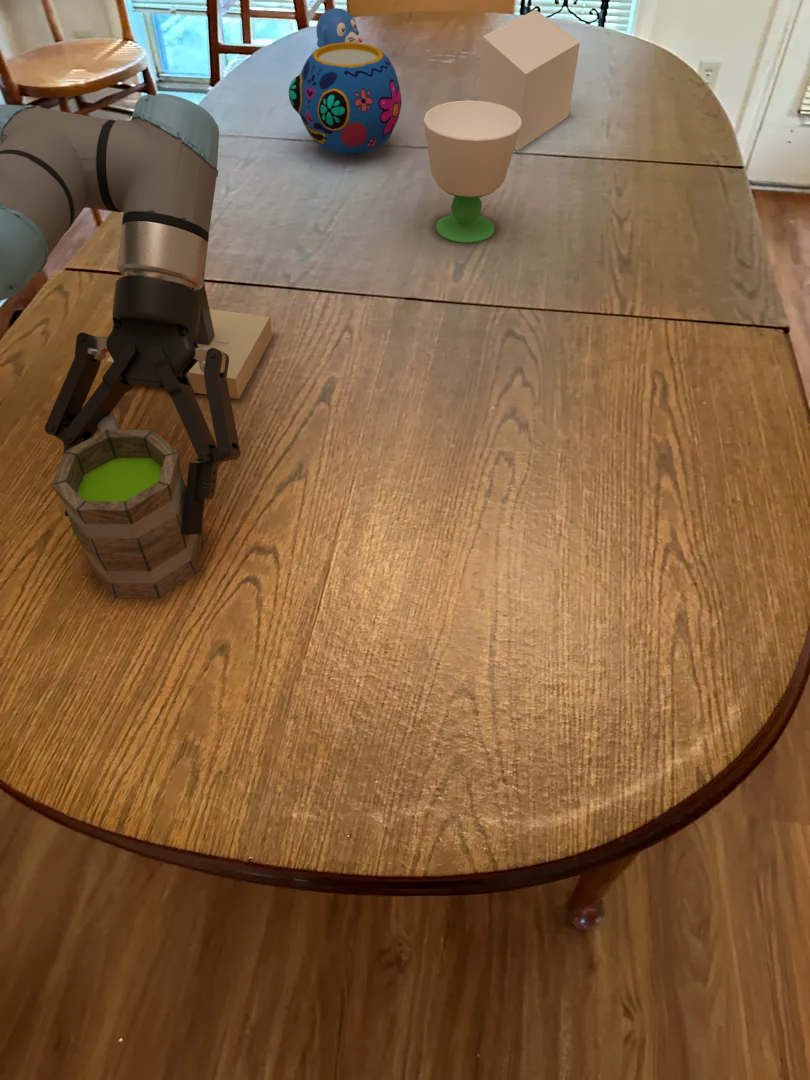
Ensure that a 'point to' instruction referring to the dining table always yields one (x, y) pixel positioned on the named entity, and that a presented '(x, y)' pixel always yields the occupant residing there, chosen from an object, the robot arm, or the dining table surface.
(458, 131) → the cup
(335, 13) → the blue mole toy
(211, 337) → the dark brown upright block
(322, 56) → the ceramic pot
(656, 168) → the dining table surface
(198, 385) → the tan rectangular slab
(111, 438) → the mug
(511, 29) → the block
